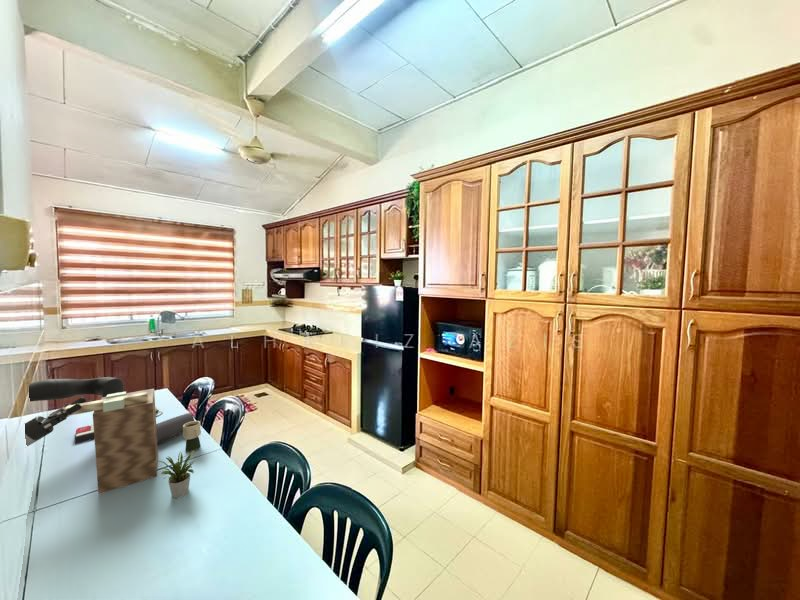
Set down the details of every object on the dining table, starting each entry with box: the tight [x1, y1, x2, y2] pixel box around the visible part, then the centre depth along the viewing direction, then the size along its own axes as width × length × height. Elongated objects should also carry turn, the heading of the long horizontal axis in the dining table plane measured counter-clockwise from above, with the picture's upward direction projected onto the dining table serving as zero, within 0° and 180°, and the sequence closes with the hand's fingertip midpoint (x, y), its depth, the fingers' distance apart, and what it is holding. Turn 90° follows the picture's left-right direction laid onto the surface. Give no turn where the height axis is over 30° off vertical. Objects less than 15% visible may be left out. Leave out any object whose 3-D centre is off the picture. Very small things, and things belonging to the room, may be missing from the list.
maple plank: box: [65, 392, 148, 417], centre depth 125 cm, size 24×4×3 cm, turn 127°
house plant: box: [154, 449, 197, 499], centre depth 119 cm, size 14×14×16 cm
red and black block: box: [74, 424, 95, 445], centre depth 168 cm, size 11×4×15 cm
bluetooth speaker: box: [156, 412, 195, 445], centre depth 163 cm, size 23×9×10 cm, turn 154°
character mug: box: [182, 420, 202, 453], centre depth 152 cm, size 11×7×13 cm, turn 58°
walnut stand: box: [92, 388, 159, 495], centre depth 134 cm, size 18×22×32 cm
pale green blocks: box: [103, 391, 128, 412], centre depth 127 cm, size 6×12×4 cm, turn 37°
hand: (82, 401), depth 121 cm, fingers open, 8 cm apart
